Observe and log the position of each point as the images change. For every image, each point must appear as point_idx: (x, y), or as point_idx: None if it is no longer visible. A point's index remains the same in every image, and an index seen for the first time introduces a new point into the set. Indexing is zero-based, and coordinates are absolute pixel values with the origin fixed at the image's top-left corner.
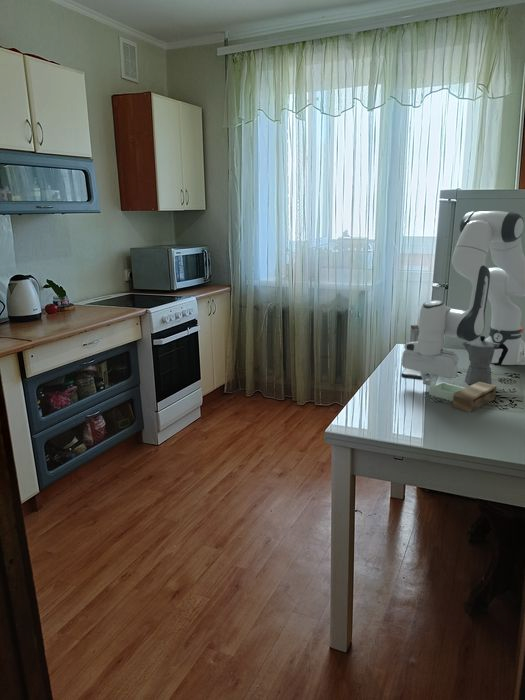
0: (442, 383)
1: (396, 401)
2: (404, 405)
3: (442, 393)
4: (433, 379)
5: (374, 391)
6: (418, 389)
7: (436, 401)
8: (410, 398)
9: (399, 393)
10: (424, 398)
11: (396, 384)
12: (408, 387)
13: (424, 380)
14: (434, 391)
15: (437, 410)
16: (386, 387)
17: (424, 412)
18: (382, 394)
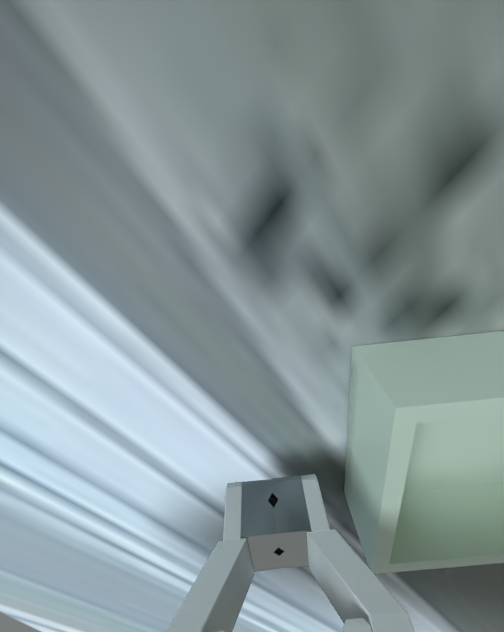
0: (409, 419)
1: (272, 623)
2: (331, 626)
3: (483, 531)
4: (349, 554)
5: (95, 619)
6: (209, 466)
7: None
8: (292, 576)
9: (195, 571)
10: (351, 537)
11: (26, 499)
12: (131, 485)
13: (254, 563)
14: (405, 534)
15: (488, 585)
16: (60, 563)
17: (444, 620)
18: (156, 617)
